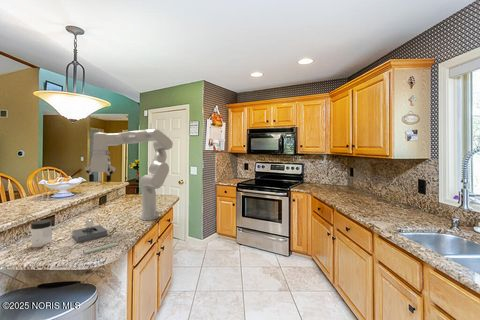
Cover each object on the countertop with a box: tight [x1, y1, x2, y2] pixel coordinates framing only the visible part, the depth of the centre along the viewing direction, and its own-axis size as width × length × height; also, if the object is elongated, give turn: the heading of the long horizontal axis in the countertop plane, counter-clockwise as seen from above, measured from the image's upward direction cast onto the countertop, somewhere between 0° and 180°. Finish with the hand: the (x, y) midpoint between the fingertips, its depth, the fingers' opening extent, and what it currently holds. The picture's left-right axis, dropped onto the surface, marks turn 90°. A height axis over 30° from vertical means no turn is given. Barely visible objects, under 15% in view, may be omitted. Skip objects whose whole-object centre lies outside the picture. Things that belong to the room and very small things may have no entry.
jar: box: [30, 219, 53, 248], centre depth 121 cm, size 9×8×12 cm
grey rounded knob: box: [85, 218, 95, 233], centre depth 130 cm, size 6×6×9 cm
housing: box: [71, 224, 108, 244], centre depth 130 cm, size 14×14×4 cm
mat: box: [82, 242, 118, 255], centre depth 118 cm, size 14×12×1 cm
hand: (100, 181), depth 139 cm, fingers open, 9 cm apart
